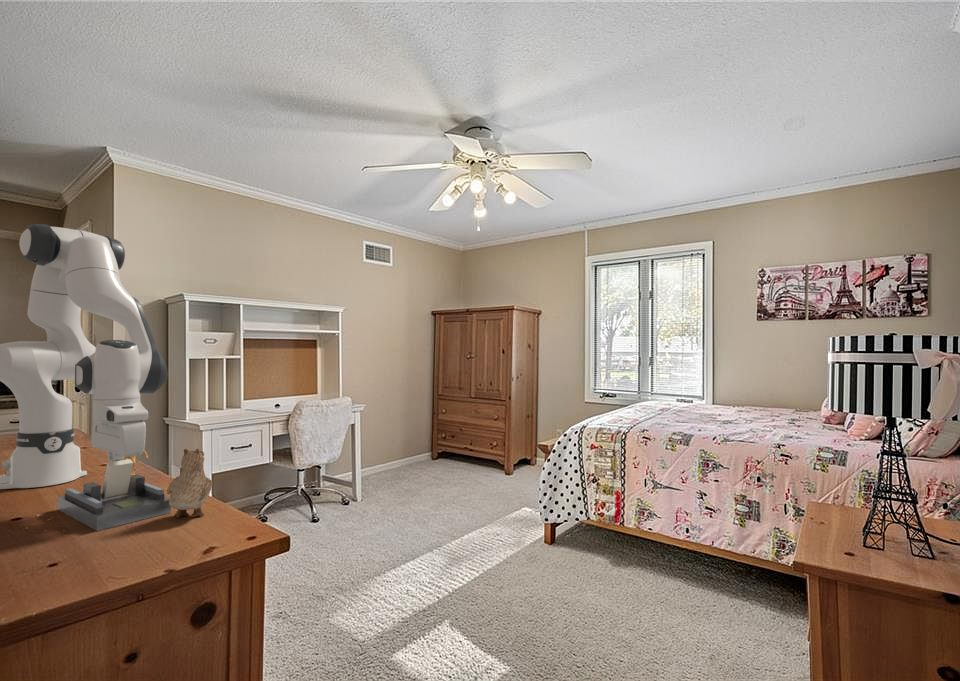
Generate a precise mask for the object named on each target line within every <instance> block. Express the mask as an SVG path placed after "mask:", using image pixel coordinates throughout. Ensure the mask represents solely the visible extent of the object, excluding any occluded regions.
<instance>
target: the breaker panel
mask: <svg viewBox="0 0 960 681" xmlns="http://www.w3.org/2000/svg"><path fill="white" fill-rule="evenodd" d="M145 483H146V482H145V476H143V475H140V474H136V473H135V475H131V477H130V482H129V487H128V494H125V495H120V496H116V497H111V498H106V499H101V493H102V490H103V487H102V484H98V483H96V482H87V483H83V488H82V489H83V490H82V491H80V492H81V493H83V494H85V495H87V496H90V497H92V498H94V499H96V500H98V501H100V502H102V507H103V512H102V513H95V512H93V511H91V510H89V509H87V508H85V507H83V506H81V505H79V504H77V503H75V502H73V501H71V500H69V499H67V498H65V494H64V495H61V496H58V499H57V500H58V502H57V503H58V504H57V510H58V511H60V512H62V513H63V514H65V515H66V516H69V517H71V518H72V519H74V520H76V521H78V522H79V523H82V524H83V525H85V526H86V527H89V528H90V529H92V530H94V531H97V532H98V531H103V530H107V529H111V528H114V527H115V528H116V527H120V526H123V525H127V524H131V523H134V522H135V523H136V522H138V521H143V520H147V519H150V518H155V517H158V516H162V515H163V516H164V515H166V514H171V513H172V507H171V506H170V505H169V499H170V497H169V498H168V497H167V496H164V499H157V498H155V497H152V496H149V495H147V494H144V488H145Z"/></svg>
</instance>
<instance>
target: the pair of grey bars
mask: <svg viewBox="0 0 960 681" xmlns="http://www.w3.org/2000/svg"><path fill="white" fill-rule="evenodd" d="M164 489H165V488H162V487H158V486H155V485H153V484H150V483H148V482H145V488H144V494H147V495H149V496H152V497H155V498H157V499H164V497H165V493H164V492H165V491H164ZM81 492H82V491H79V490H76V489H74V488H72V487H71V488H66V489H65V493H64V495H65V498H67V499H69V500H71V501H73V502H75V503H77V504H79V505H81V506H83V507H85V508H87V509H89V510H91V511H93V512H95V513H102V512H103V507H102V502H100V501H98V500H96V499H94V498H92V497H90V496H87V495H85V494H83V493H81Z"/></svg>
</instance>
